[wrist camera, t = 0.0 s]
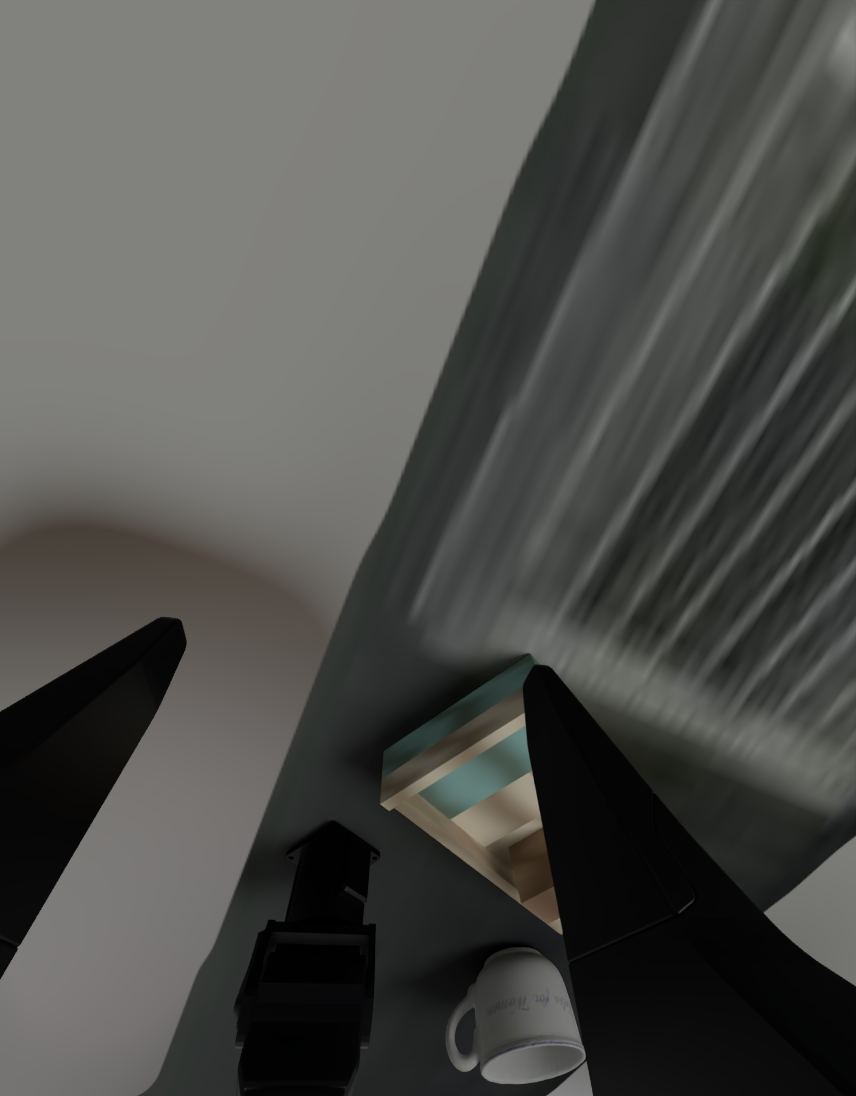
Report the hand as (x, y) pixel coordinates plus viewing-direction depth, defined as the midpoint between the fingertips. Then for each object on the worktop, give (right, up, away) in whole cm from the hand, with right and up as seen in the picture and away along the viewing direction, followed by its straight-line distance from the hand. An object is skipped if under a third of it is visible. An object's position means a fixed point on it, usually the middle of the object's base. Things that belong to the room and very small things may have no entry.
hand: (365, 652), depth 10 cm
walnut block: (+12, -24, +24) cm, 36 cm away
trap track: (+12, -19, +25) cm, 33 cm away
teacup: (+10, -46, +35) cm, 59 cm away
